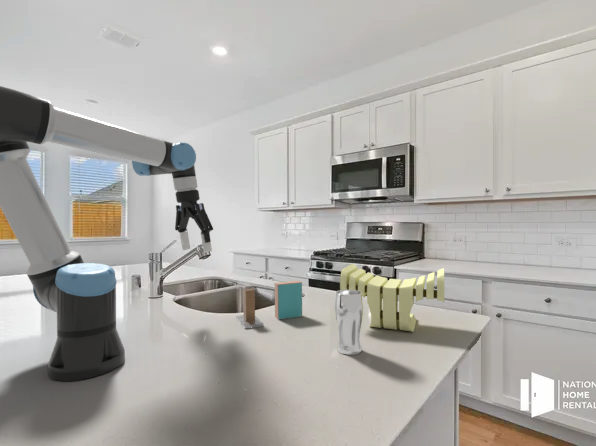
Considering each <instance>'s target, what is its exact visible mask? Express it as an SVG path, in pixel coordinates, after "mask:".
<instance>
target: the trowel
mask: <svg viewBox="0 0 596 446" xmlns="http://www.w3.org/2000/svg"><path fill="white" fill-rule="evenodd" d="M255 292H256V290H255V289H254V288H243V292H242V293H243V294H242V295H243V314H242V315H235V318H237V319H238V320H239V321H240V322H241V324H242V325H243V326H244V327H245V328H250V329H252V328H251V327H257V328H260V327H259V326H264V325H265V324H264V322H263V321H261V319H259V318H258V317H257V316H256V298H255V297H256V293H255ZM237 319H236V320H237ZM238 320H237V321H238ZM239 321H238V322H239ZM241 324H240V325H241ZM242 325H241V326H242ZM243 326H242V327H243ZM244 327H243V328H244ZM245 328H244V329H245Z"/></svg>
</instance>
